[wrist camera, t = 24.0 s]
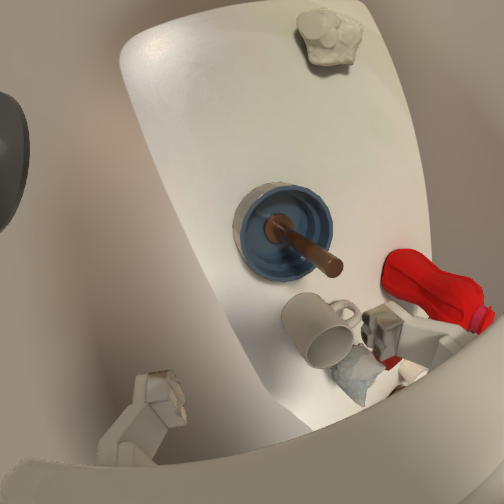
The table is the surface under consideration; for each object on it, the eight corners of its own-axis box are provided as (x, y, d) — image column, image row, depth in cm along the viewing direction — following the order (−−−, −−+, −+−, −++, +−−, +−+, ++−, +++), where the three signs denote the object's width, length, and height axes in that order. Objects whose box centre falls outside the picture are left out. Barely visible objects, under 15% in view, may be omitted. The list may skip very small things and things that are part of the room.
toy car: (400, 324, 57) (413, 334, 52) (404, 336, 59) (416, 346, 54) (356, 362, 57) (367, 374, 52) (363, 372, 59) (373, 384, 54)
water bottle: (374, 298, 51) (460, 367, 28) (384, 247, 48) (488, 303, 25) (404, 293, 54) (485, 350, 31) (414, 246, 50) (508, 292, 27)
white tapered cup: (394, 377, 64) (408, 392, 58) (399, 361, 62) (414, 375, 56) (411, 368, 66) (424, 381, 59) (416, 352, 63) (431, 365, 57)
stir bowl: (236, 272, 42) (245, 289, 37) (227, 187, 38) (235, 190, 32) (314, 259, 45) (332, 272, 39) (312, 179, 41) (331, 182, 35)
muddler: (264, 243, 41) (314, 293, 25) (262, 214, 40) (314, 250, 24) (291, 239, 42) (352, 284, 26) (290, 211, 41) (354, 243, 25)
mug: (290, 340, 49) (314, 377, 39) (273, 307, 46) (297, 345, 36) (343, 307, 50) (376, 338, 40) (332, 273, 47) (367, 300, 37)
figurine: (337, 369, 56) (371, 413, 42) (310, 359, 52) (344, 410, 38) (364, 336, 54) (405, 376, 41) (340, 323, 51) (383, 368, 37)
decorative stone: (309, 73, 34) (317, 19, 24) (287, 45, 36) (290, -2, 26) (368, 71, 34) (383, 25, 25) (341, 44, 37) (351, 2, 27)
